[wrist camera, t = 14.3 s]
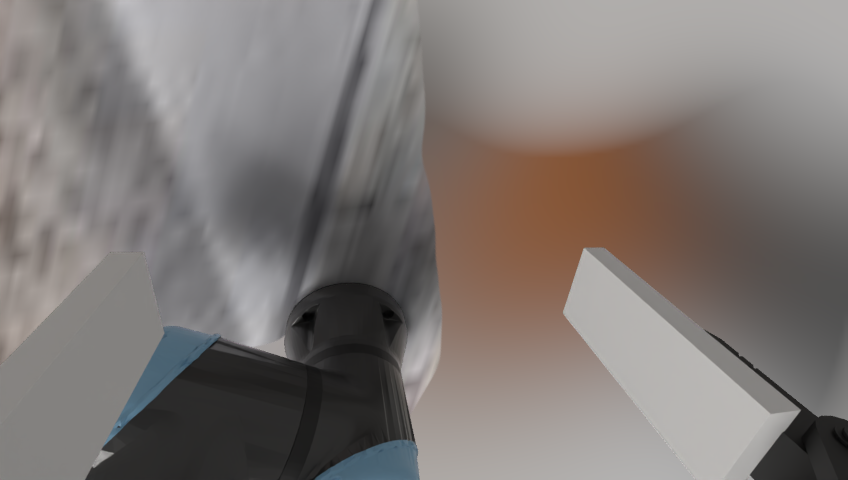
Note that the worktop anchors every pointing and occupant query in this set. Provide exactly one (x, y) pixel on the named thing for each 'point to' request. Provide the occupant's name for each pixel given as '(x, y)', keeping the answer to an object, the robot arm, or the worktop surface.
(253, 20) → the worktop surface
